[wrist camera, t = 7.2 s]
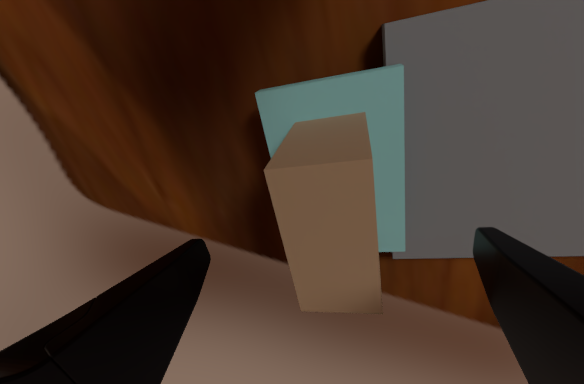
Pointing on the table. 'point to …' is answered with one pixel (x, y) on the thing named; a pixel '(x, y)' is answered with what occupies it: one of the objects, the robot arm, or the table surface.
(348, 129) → the stub
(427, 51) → the board
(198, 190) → the table surface
